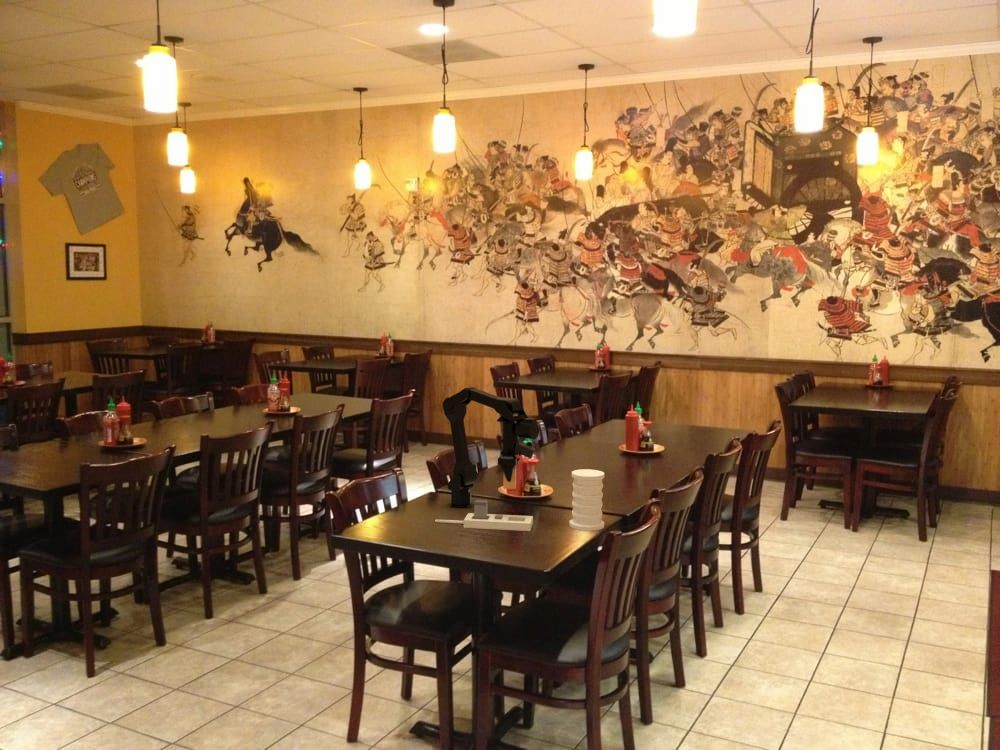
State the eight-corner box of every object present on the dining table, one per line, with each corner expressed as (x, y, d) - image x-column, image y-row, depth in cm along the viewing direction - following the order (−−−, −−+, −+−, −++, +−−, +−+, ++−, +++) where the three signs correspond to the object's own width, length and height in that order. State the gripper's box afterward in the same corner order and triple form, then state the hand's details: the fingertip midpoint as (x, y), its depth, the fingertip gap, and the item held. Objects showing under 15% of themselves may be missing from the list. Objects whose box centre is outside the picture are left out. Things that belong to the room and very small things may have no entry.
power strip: (432, 526, 291) (432, 516, 291) (437, 518, 300) (437, 509, 300) (530, 531, 287) (530, 521, 287) (532, 523, 296) (533, 513, 295)
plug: (503, 488, 302) (503, 465, 301) (504, 486, 305) (504, 463, 304) (515, 489, 301) (515, 466, 301) (516, 487, 304) (516, 464, 303)
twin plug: (474, 525, 292) (474, 502, 291) (475, 523, 295) (475, 499, 294) (486, 526, 292) (486, 502, 291) (487, 523, 295) (487, 500, 294)
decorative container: (568, 529, 289) (569, 475, 287) (570, 520, 300) (571, 468, 298) (603, 531, 287) (605, 477, 285) (604, 521, 299) (606, 469, 297)
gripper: (530, 441, 291) (530, 487, 293) (536, 431, 309) (535, 475, 311) (497, 440, 292) (497, 486, 294) (504, 430, 311) (504, 474, 312)
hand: (509, 480), depth 303 cm, fingers closed on plug, 3 cm apart
